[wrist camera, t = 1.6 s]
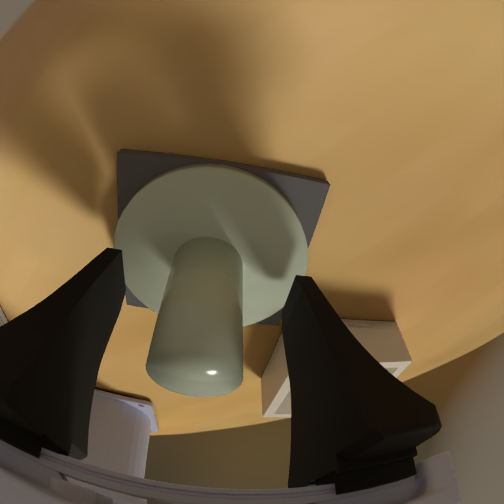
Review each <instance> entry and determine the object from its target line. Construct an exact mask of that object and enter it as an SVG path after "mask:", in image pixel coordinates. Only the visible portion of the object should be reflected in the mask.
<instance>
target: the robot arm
mask: <svg viewBox="0 0 504 504" xmlns="http://www.w3.org/2000/svg"><path fill="white" fill-rule="evenodd" d="M125 292H126V285H125V277H124V267H123V256H122V250H119V249H113V248H106V249H105V250H104V251H103V252H102V253H100V254H99V255H98V256H97V257H96V258H94V259H93V260H92V261H91V262H90V263H89V264H87V265H86V266H85V267H84V268H83V269H82V270H80V271H79V272H78V273H77V274H76V275H74V276H73V277H72V278H71V279H70V280H69V281H67V282H66V283H65V284H63V285H62V286H61V287H60V288H58V289H57V290H56V291H55V292H53V293H52V294H51V295H50V296H48V297H47V298H45V299H44V300H43V301H41V302H40V303H38V304H37V305H35V306H34V307H32V308H31V309H29V310H28V311H26V312H24V313H23V314H21V315H19V316H18V317H16V318H14V319H13V320H11V321H9V322H8V323H6V324H4V325H2V326H0V502H1V503H3V504H147V500H146V499H151V500H156V501H162V502H169V503H176V504H459V503H460V502H461V497H460V492H459V488H458V483H457V479H456V475H455V470H454V466H453V463H452V459H451V455H450V452H449V451H446V452H444V453H441V454H438V455H435V456H432V457H430V458H427V459H425V460H423V461H420V462H418V463H417V464H415V463H414V459H413V457H415V456H416V455H417V450H416V446H418V445H420V444H421V443H423V442H425V441H426V440H428V439H429V438H431V437H432V436H434V435H435V434H437V432H439V430H440V429H441V426H442V425H441V422H440V418H439V416H438V412H437V409H436V406H435V405H434V404H432V403H431V402H429V401H428V400H426V399H425V398H423V397H422V396H420V395H419V394H417V393H415V392H414V391H412V390H411V389H410V388H409V387H407V386H406V385H404V384H403V383H402V382H401V381H399V380H398V379H397V378H396V377H395V376H393V375H392V374H391V373H390V372H389V371H388V370H387V369H385V368H384V367H383V366H382V365H381V364H380V363H379V362H378V361H377V360H376V359H375V358H374V357H373V356H372V355H371V354H370V353H369V352H368V351H367V350H366V349H365V348H364V347H363V346H362V345H361V343H360V342H359V341H358V340H357V339H356V338H355V336H354V335H353V334H352V333H351V331H350V330H349V329H348V328H347V327H346V325H345V324H344V323H343V321H342V320H341V319H340V317H339V316H338V315H337V313H336V312H335V311H334V309H333V308H332V306H331V305H330V304H329V302H328V301H327V299H326V298H325V296H324V295H323V293H322V292H321V290H320V289H319V288H318V286H317V285H316V283H315V282H314V280H313V279H312V278H311V277H308V276H301V275H296V276H295V278H294V281H293V284H292V286H291V289H290V292H289V294H288V297H287V300H286V302H285V305H284V307H283V310H282V335H283V342H284V349H285V356H286V362H287V369H288V375H289V382H290V392H291V455H290V467H289V479H288V488H286V489H221V488H207V487H196V486H187V485H179V484H172V483H165V482H159V481H153V480H148V479H144V473H145V466H146V457H147V450H148V442H149V435H150V431H151V432H158V425H157V420H156V416H155V412H154V407H153V404H152V403H151V402H149V401H145V400H140V399H135V398H130V397H126V396H121V395H117V394H113V393H109V392H105V391H101V390H97V389H95V385H96V380H97V375H98V371H99V367H100V363H101V360H102V357H103V354H104V352H105V349H106V346H107V344H108V341H109V339H110V336H111V333H112V331H113V328H114V326H115V323H116V321H117V318H118V316H119V313H120V310H121V306H122V303H123V299H124V295H125ZM137 497H138V498H137ZM141 498H146V499H141Z"/></svg>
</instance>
